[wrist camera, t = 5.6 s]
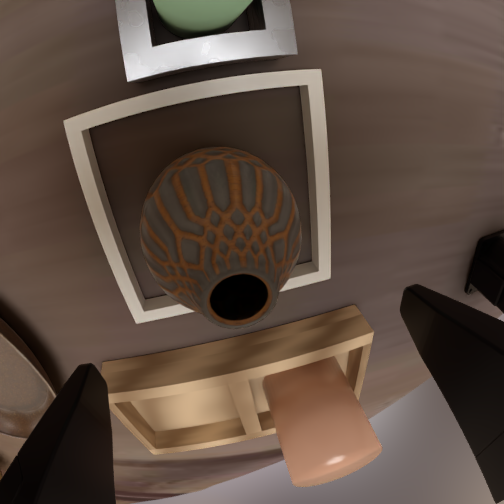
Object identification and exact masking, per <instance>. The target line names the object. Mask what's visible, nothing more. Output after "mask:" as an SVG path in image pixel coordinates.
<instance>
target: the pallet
mask: <svg viewBox="0 0 504 504" xmlns="http://www.w3.org/2000/svg"><path fill="white" fill-rule="evenodd" d="M373 334H374V331H373V330H372V328H371V327H370V325H369V324H368V323H367V321H366V320H365V318H364V317H363V315H362V314H361V313H360V311H359V310H358V308H357V307H356V306H355V304H354V305H351V306H348V307H345V308H341V309H338V310H335V311H331V312H328V313H324V314H321V315H318V316H314V317H310V318H307V319H303V320H300V321H296V322H292V323H289V324H285V325H281V326H277V327H273V328H269V329H266V330H262V331H258V332H253V333H249V334H245V335H241V336H237V337H232V338H228V339H224V340H219V341H215V342H210V343H206V344H201V345H196V346H191V347H186V348H181V349H176V350H171V351H166V352H161V353H155V354H149V355H144V356H138V357H132V358H126V359H120V360H113V361H107V362H103V363H102V369H101V375H102V376H103V378H104V379H105V381H106V383H107V386H108V396H109V408H110V410H111V411H112V412H113V413H114V414H115V415H116V416H117V418H118V419H119V420H120V421H121V422H122V423H123V424H124V425H125V426H126V427H127V428H128V429H129V430H130V431H131V432H132V434H133V435H134V436H135V437H136V438H137V439H138V440H139V441H140V442H141V443H142V444H143V445H144V446H145V447H146V448H147V449H149V450H150V451H151V452H152V453H153V454H164V453H173V452H181V451H189V450H195V449H202V448H208V447H214V446H219V445H225V444H230V443H235V442H240V441H244V440H249V439H253V438H257V437H262V436H266V435H270V434H274V433H276V430H275V426H274V423H273V420H272V417H271V414H270V410H269V407H268V404H267V400H266V397H265V394H264V391H263V387H262V382H263V379H264V377H265V376H266V375H270V374H274V373H278V372H281V371H285V370H289V369H292V368H296V367H299V366H303V365H306V364H309V363H313V362H316V361H319V360H322V359H326V358H329V357H332V356H335V357H336V359H337V361H338V363H339V365H340V367H341V369H342V371H343V372H344V374H345V376H346V378H347V380H348V382H349V384H350V386H351V388H352V390H353V392H354V393H355V395H356V397H357V399H359V396H360V392H361V388H362V384H363V380H364V376H365V371H366V367H367V363H368V358H369V353H370V349H371V344H372V339H373Z"/></svg>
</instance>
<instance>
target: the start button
mask: <svg viewBox="0 0 504 504" xmlns="http://www.w3.org/2000/svg"><path fill="white" fill-rule="evenodd" d="M252 1H253V0H153V2H154V5H155V8H156V11H157V14H158V17H159V19H160V21H161V23H162V24H163V25H164V27H165V28H166V29H168V30H169V31H170V32H172V33H173V34H175V35H177V36H180V37H182V38H187V39H193V38H199V37H205V36H212V35H218V34H220V33H222V32H224V31H225V30H227V29H228V28H229V27H230V26H231V25H232V24H233V23H234V22H235V20H236V19H237V18H238V17H239V16H240V15H241V13H242V12H243V11H244V10H245V9H246V8H247V6H248V5H249V4H250V3H251V2H252Z"/></svg>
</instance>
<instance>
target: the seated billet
mask: <svg viewBox="0 0 504 504" xmlns="http://www.w3.org/2000/svg"><path fill="white" fill-rule="evenodd" d="M262 387H263V391H264V394H265V397H266V400H267V404H268V407H269V410H270V414H271V417H272V420H273V423H274V426H275V430H276V433H277V436H278V439H279V442H280V446H281V449H282V452H283V455H284V458H285V461H286V464H287V467H288V471H289V473H290V477H291V480H292V483H293V485H294V486H297V487H308V486H315V485H319V484H323V483H327V482H330V481H333V480H336V479H339V478H341V477H344V476H346V475H348V474H350V473H352V472H354V471H356V470H358V469H360V468H362V467H363V466H365V465H367V464H368V463H369V462H371V461H372V460H373V459H375V458H376V457H377V456H378V455H379V454H380V453H381V451H382V446H381V444H380V442H379V440H378V438H377V436H376V434H375V432H374V430H373V428H372V426H371V424H370V422H369V421H368V419H367V417H366V415H365V413H364V411H363V409H362V407H361V405H360V403H359V401H358V399H357V397H356V395H355V393H354V392H353V390H352V388H351V386H350V384H349V382H348V380H347V378H346V376H345V374H344V372H343V371H342V369H341V367H340V365H339V363H338V361H337V359H336V357H335V356H332V357H329V358H326V359H322V360H319V361H316V362H313V363H309V364H306V365H303V366H299V367H296V368H292V369H289V370H285V371H281V372H278V373H274V374H270V375H266V376H265V377H264V379H263V382H262Z"/></svg>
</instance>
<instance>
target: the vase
mask: <svg viewBox="0 0 504 504" xmlns="http://www.w3.org/2000/svg"><path fill="white" fill-rule="evenodd" d="M301 239H302V232H301V221H300V215H299V211H298V207H297V204H296V201H295V199H294V197H293V195H292V193H291V191H290V189H289V187H288V185H287V184H286V182H285V181H284V180H283V179H282V177H281V176H280V175H279V174H278V173H277V172H276V171H275V170H274V169H273V168H272V167H271V166H269V165H268V164H267V163H266V162H264V161H263V160H261V159H260V158H258V157H256V156H254V155H252V154H250V153H248V152H246V151H243V150H240V149H236V148H230V147H207V148H202V149H198V150H195V151H192V152H189V153H187V154H185V155H183V156H181V157H179V158H178V159H176V160H175V161H173V162H172V163H171V164H169V165H168V166H167V167H166V168H165V169H164V170H163V171H162V172H161V173H160V174H159V176H158V177H157V178H156V180H155V181H154V183H153V185H152V186H151V188H150V190H149V192H148V194H147V196H146V199H145V201H144V205H143V208H142V213H141V218H140V241H141V247H142V251H143V255H144V258H145V261H146V263H147V266H148V268H149V270H150V272H151V274H152V276H153V277H154V279H155V281H156V282H157V283H158V285H159V286H160V287H161V288H162V290H163V291H164V292H165V293H166V294H167V295H168V296H170V297H171V298H172V299H173V300H175V301H176V302H177V303H179V304H181V305H182V306H184V307H186V308H188V309H190V310H193V311H195V312H198V313H201V314H203V315H204V316H205V317H206V318H207V319H208V320H209V321H211V322H212V323H214V324H215V325H218V326H220V327H224V328H229V329H239V328H245V327H249V326H252V325H254V324H256V323H258V322H260V321H261V320H263V319H264V318H265V317H266V316H267V315H268V314H269V313H270V312H271V311H272V310H273V308H274V306H275V304H276V302H277V299H278V294H279V291H280V290H281V289H282V288H283V287H284V285H285V284H286V283H287V281H288V280H289V278H290V276H291V275H292V273H293V271H294V269H295V266H296V264H297V261H298V258H299V254H300V249H301Z"/></svg>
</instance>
